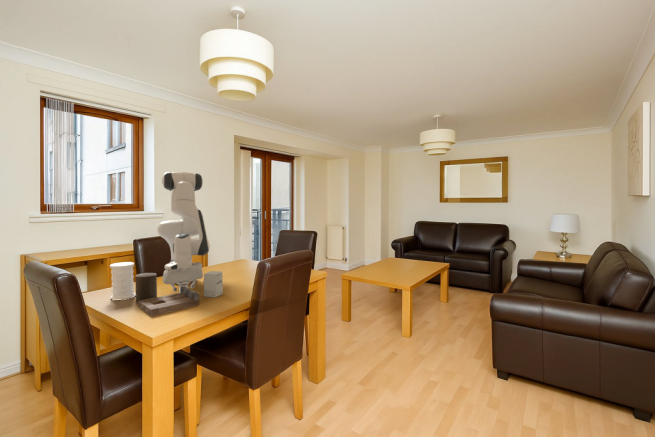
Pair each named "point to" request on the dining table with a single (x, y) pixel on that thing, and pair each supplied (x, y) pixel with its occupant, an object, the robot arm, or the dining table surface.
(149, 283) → the pillar candle
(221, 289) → the supplement box
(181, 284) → the frosted bulb shape
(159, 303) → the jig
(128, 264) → the decorative container
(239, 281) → the dining table surface
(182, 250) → the robot arm
